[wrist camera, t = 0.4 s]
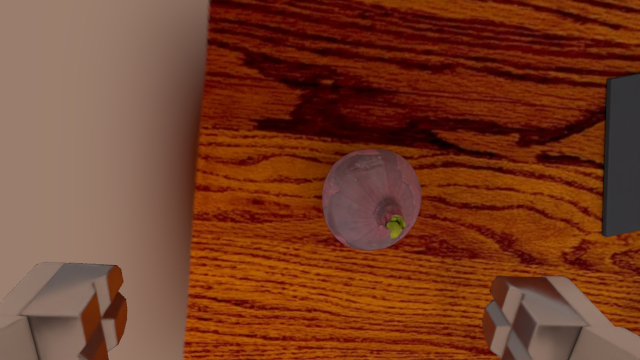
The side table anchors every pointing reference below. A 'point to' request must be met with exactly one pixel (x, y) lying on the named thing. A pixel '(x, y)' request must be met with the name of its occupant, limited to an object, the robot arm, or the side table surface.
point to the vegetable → (371, 199)
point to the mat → (622, 156)
